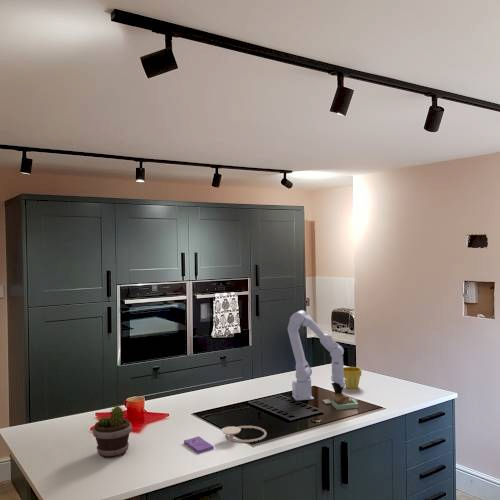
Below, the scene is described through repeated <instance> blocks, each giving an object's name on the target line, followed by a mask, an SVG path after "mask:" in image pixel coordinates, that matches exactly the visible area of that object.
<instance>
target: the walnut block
mask: <svg viewBox="0 0 500 500" xmlns="http://www.w3.org/2000/svg"><path fill="white" fill-rule="evenodd" d="M332 395H333V397H332V398H333V399H332V400H333V401H334V402H335V403H337V404H338V405H341V404H350V402H349V398H350V396H349V395H348V394H347V393H345V392H342V393H337V394H335V393H333V394H332Z"/></svg>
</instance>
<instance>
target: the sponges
mask: <svg viewBox="0 0 500 500" xmlns="http://www.w3.org/2000/svg"><path fill="white" fill-rule="evenodd" d="M183 444H184V445H186V446H187V447H188V448H189V449H191V450H192V451H194V452H195V453H197V454H202V453H206V452H208V451H212V450H214V448H215V447H214V445H213V444H211V443H210V442H208V441H206V440H205V439H204V438H202V437H201V436H199V435H198V436H194V437H193V438H188V439H185V440H184V439H183Z"/></svg>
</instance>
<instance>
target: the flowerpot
mask: <svg viewBox="0 0 500 500" xmlns="http://www.w3.org/2000/svg"><path fill="white" fill-rule="evenodd" d="M108 413H109V415H106V414H104V415H103V414H102V417H100V418H99V419H98V421H97V422H95V424H94V426H93V428H92V436H93V437H94V438H95V440H96V443H97V446H96V451H97V453H98V455H100V457H102V458H103V457H104V459H107V458H108V459H113V458H119V457H121V456H124V455H125V454H126V453H127V451H128V450H129V446H130V443H129V438H130V433H131V432H132V431H133V426H132V423H131V422H130V421H129V419H127V418H126V417H125V414H126V412H125V410H124V408H123V407H122V406H121V405H120V404H119V403H117V404H116V406H113V408H111V410H110V411H109V412H108Z"/></svg>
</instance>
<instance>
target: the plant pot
mask: <svg viewBox="0 0 500 500" xmlns="http://www.w3.org/2000/svg"><path fill="white" fill-rule="evenodd" d="M343 371H344V378H345V379H346V381H344V383H345V388H347V389H351V390H352V389H358V388H359V384H360V379H361V377H362V369H361V368H360V367H358V366H357V367H356V366H345V367H343Z"/></svg>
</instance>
